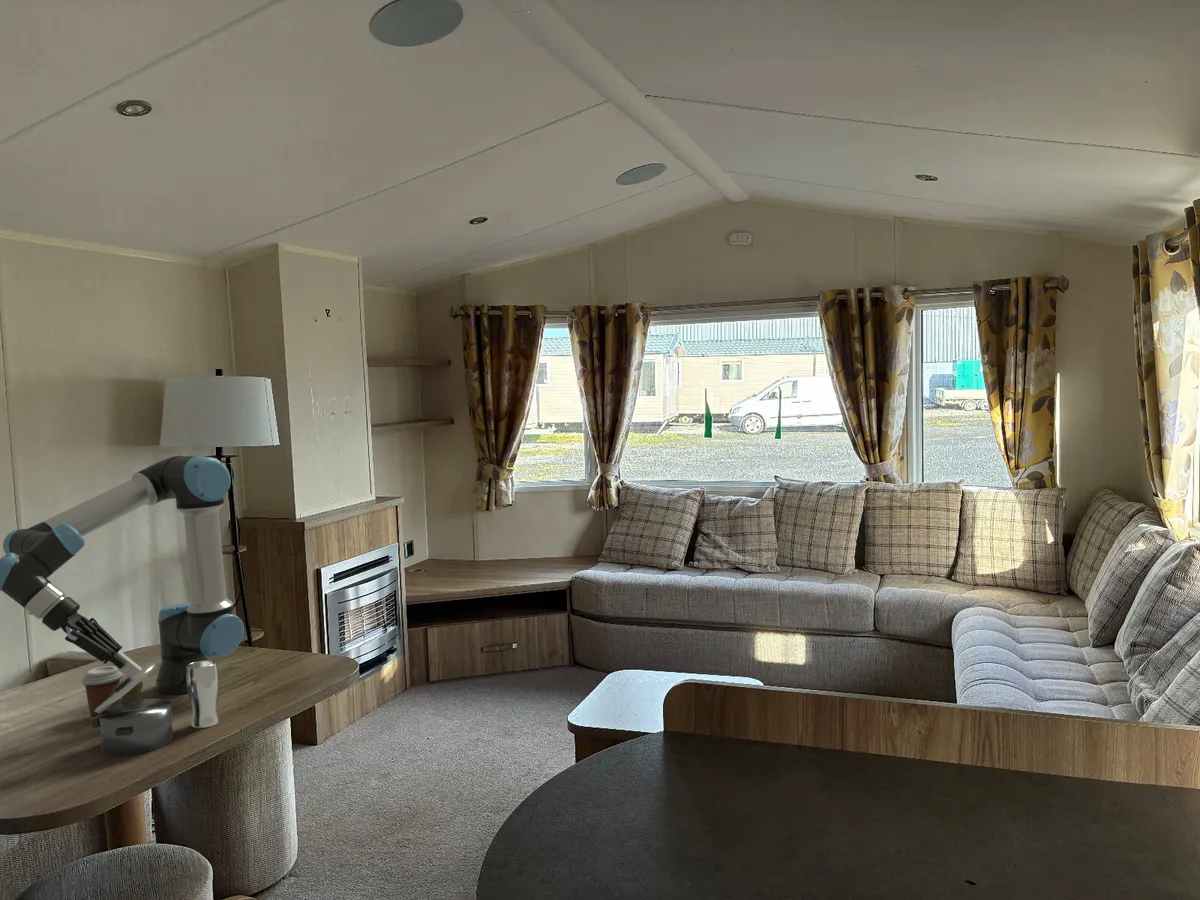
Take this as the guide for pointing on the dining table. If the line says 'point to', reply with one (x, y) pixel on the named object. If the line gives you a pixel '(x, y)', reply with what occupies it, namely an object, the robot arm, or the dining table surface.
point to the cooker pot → (135, 727)
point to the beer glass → (203, 692)
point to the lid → (124, 688)
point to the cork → (133, 693)
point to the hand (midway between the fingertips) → (136, 673)
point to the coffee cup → (101, 685)
